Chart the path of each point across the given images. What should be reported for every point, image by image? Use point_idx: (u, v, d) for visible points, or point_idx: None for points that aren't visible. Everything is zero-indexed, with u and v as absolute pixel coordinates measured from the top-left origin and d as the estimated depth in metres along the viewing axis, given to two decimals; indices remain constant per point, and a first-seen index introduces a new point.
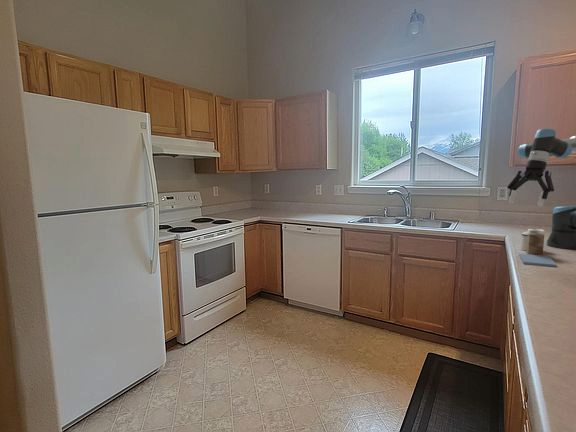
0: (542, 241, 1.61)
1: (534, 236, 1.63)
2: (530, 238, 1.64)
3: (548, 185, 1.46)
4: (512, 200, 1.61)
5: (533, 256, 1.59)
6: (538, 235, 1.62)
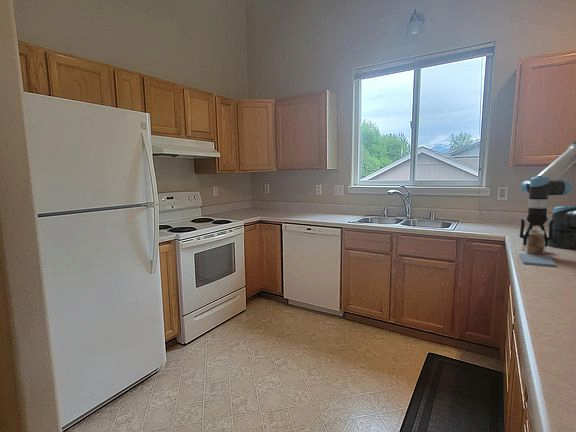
0: (542, 241, 1.61)
1: (534, 236, 1.63)
2: (530, 238, 1.64)
3: (551, 234, 1.61)
4: (527, 248, 1.67)
5: (533, 256, 1.59)
6: (538, 235, 1.62)
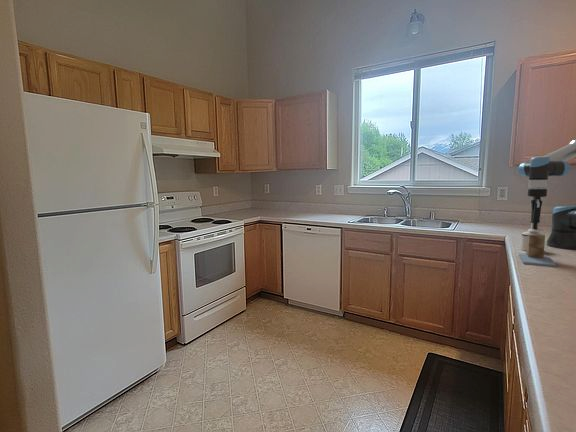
0: (543, 242, 1.54)
1: (534, 237, 1.56)
2: (530, 239, 1.57)
3: None
4: None
5: None
6: (539, 236, 1.55)
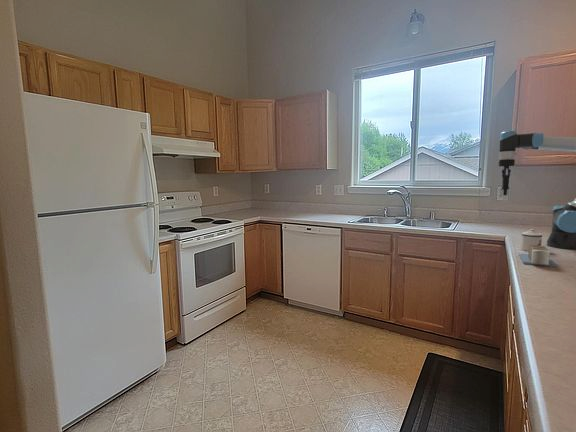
0: None
1: None
2: None
3: None
4: None
5: None
6: None
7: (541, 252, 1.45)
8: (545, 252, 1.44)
